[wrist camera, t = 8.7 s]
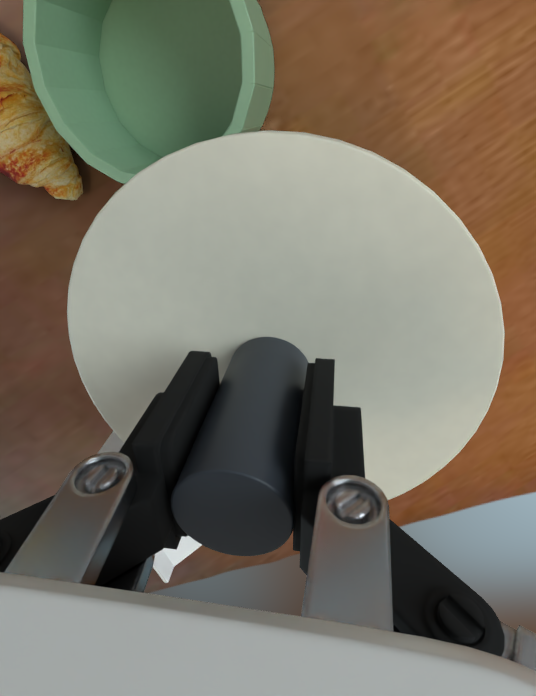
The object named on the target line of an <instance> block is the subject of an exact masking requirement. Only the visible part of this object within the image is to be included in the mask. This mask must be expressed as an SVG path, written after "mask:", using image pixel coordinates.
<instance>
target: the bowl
mask: <svg viewBox="0 0 536 696" xmlns="http://www.w3.org/2000/svg"><path fill="white" fill-rule="evenodd" d="M23 45H24V49H25V53H26V57H27V61H28V65H29V69H30V73H31V77H32V81H33V85H34V89H35V92H36V93H37V95H38V97H39V99H40V101H41V103H42V105H43V106H44V108H45V110H46V112H47V114H48V116H49V118H50V120H51V121H52V123H53V125H54V127H55V129H56V131H58V133H59V134H60V135H61V136H62V137H63V138H64V139H65V140H66V142H67V143H68V144H69V145H70V146H71V147H72V148H73V149H74V150H75V151H76V152H77V153H78V154H79V156H80V157H81V158H82V159H83V160H84V161H85V162H86V163H87V164H89V165H91V166H92V167H94V168H96V169H97V170H99V171H101V172H102V173H104V174H106V175H107V176H109V177H111V178H113V179H114V180H116V181H118V182H119V183H123V184H126V183H127V182H128V181H129V180H130V179H131V178H133V177H134V176H135V175H136V174H137V173H138V172H140V171H142V170H143V169H145V168H146V167H148V166H150V165H151V164H153V163H154V162H156V161H158V160H159V159H161V158H162V157H164V156H166V155H168V154H171V153H173V152H176V151H178V150H180V149H183V148H185V147H187V146H190V145H192V144H195V143H198V142H202V141H206V140H210V139H214V138H218V137H222V136H226V135H230V134H234V133H245V132H256V131H259V130H260V128H261V127H262V125H263V123H264V120H265V117H266V115H267V113H268V109H269V106H270V102H271V99H272V93H273V88H274V54H273V46H272V42H271V38H270V34H269V31H268V27H267V24H266V21H265V19H264V16H263V13H262V10H261V7H260V5H259V4H258V2H257V1H256V0H24V3H23Z"/></svg>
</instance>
